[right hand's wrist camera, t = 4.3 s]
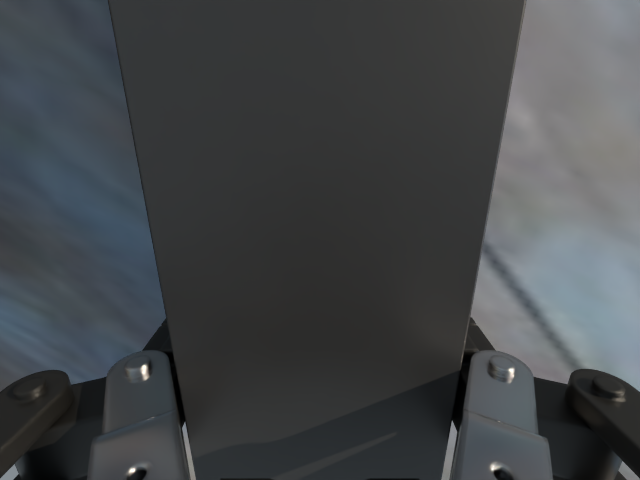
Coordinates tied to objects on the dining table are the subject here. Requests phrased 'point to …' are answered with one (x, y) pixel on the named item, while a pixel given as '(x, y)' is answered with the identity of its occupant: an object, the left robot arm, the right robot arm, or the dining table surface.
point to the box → (317, 218)
